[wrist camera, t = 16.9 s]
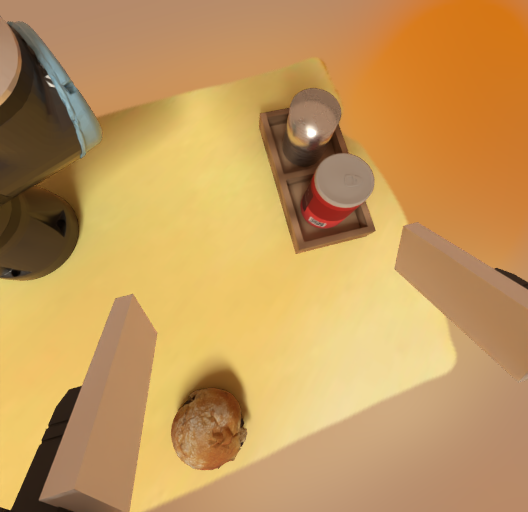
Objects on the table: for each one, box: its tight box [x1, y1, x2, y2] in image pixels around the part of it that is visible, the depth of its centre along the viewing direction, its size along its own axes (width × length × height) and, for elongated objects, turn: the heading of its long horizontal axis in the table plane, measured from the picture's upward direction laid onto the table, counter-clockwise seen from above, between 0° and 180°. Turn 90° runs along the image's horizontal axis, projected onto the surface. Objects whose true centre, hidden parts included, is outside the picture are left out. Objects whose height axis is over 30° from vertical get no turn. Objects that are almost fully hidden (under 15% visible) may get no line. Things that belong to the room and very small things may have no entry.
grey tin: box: [282, 88, 341, 167], centre depth 41 cm, size 8×8×9 cm
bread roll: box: [171, 388, 247, 470], centre depth 36 cm, size 10×10×8 cm
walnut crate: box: [259, 108, 376, 254], centre depth 44 cm, size 25×13×4 cm, turn 15°
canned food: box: [300, 153, 374, 229], centre depth 38 cm, size 8×8×11 cm
